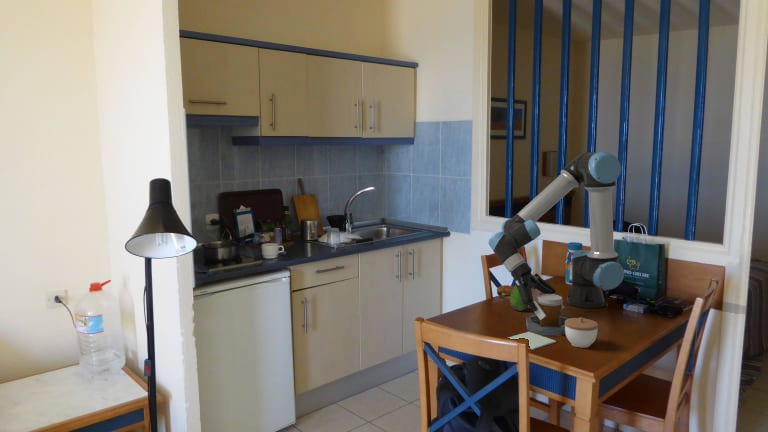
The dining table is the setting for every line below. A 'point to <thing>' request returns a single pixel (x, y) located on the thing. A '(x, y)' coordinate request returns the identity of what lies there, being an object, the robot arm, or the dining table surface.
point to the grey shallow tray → (545, 330)
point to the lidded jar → (581, 331)
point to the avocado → (516, 300)
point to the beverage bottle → (572, 248)
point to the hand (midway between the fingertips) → (552, 313)
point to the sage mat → (534, 340)
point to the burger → (504, 291)
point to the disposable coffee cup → (550, 308)
